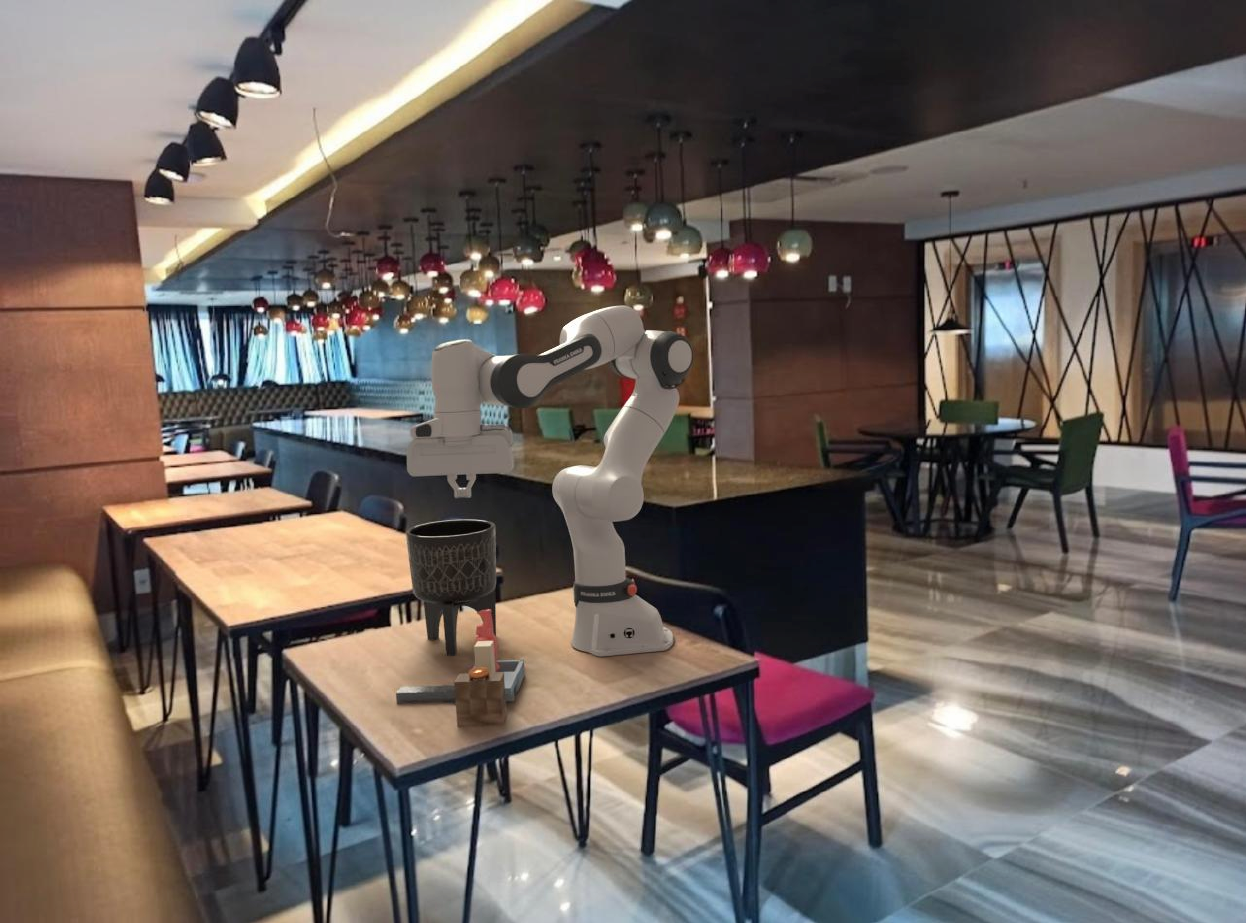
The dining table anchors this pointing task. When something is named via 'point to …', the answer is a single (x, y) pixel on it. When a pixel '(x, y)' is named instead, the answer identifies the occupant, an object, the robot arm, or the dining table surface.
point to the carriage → (510, 668)
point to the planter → (453, 572)
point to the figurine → (487, 632)
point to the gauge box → (480, 700)
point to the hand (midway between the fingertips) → (463, 497)
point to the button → (479, 673)
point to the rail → (426, 694)
